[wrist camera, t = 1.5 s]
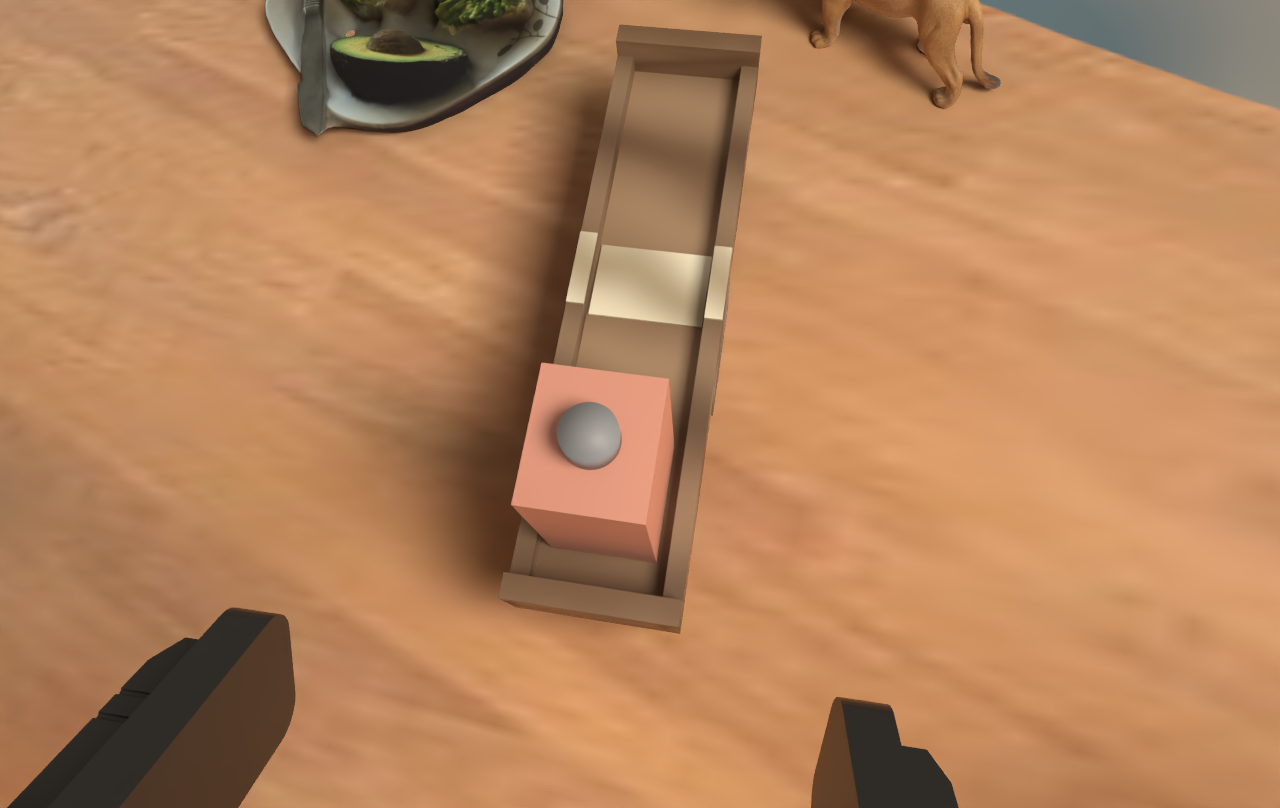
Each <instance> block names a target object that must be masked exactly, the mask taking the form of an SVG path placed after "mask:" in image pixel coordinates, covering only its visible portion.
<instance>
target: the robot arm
mask: <svg viewBox="0 0 1280 808" xmlns="http://www.w3.org/2000/svg"><path fill="white" fill-rule="evenodd" d="M294 705H295V684H294V673H293V663H292V652H291V641H290V631H289V623H288V620H287V618H286V617H285V616H284V615H281V614H274V613H268V612H261V611H254V610H248V609H241V608H230V609H228V610H226V611H225V612H224V613H223V614H222V615H221V616H220V617H219V618H218V619H217V620H216V621H215V622H214V623H213V624H212V626H211V627H210V628H209V629H208V630H207V631H206V632H205V633H204V634H203V636H202V637H201V638H200V639H199V640H197V639H191V638H184V639H182V640H181V641H179V642H177V643H176V644H174V645H172V646H171V647H169V648H167V649H166V650H164V651H162V652H161V653H159V654H157V655H156V656H154V657H152V658H151V659H149V660H148V661H147V662H146V663H145V664H144V665H143V666H142V667H141V668H140V669H139V670H138V671H137V672H136V673H135V674H134V675H133V676H132V677H131V678H130V680H129V681H128V682H127V683H126V684H125V685H124V686H123V687H122V688H121V692H120V694H115V695H114V696H113V697H112V698H111V699H110V700H109V702H108V703H107V704H106V705H105V706H104V707H103V708H102V709H101V710H100V711H99V714H98V717H97V718H92V719H91V720H90V721H89V723H88V724H87V725H86V726H85V727H84V728H83V729H82V730H81V731H80V732H79V733H78V734H77V735H76V736H75V737H74V738H73V739H72V740H71V741H70V742H69V743H68V745H67V746H66V747H65V748H64V749H63V750H62V751H61V752H60V753H59V754H58V755H57V756H56V757H55V758H54V759H53V760H52V761H51V762H50V763H49V764H48V766H47V767H46V768H45V769H44V770H43V771H42V772H41V773H40V774H39V775H38V776H37V777H36V778H35V779H34V780H33V781H32V782H31V783H30V784H29V785H28V786H27V788H26V789H25V790H24V791H23V792H22V793H21V794H20V795H19V796H18V797H17V798H16V799H15V800H14V801H13V802H12V803H11V804H10V805H9V806H8V807H7V808H238V807H239V806H240V804H241V802H242V801H243V799H244V798H245V796H246V795H247V793H248V792H249V790H250V789H251V787H252V786H253V784H254V782H255V781H256V779H257V778H258V776H259V775H260V773H261V772H262V770H263V769H264V767H265V766H266V764H267V762H268V761H269V759H270V758H271V756H272V755H273V753H274V752H275V750H276V749H277V747H278V746H279V744H280V742H281V741H282V739H283V738H284V736H285V734H286V732H287V729H288V727H289V724H290V721H291V718H292V715H293V711H294ZM811 808H958V804H957V801H956V797H955V794H954V791H953V787H952V784H951V782H950V781H949V779H948V778H947V777H946V775H945V774H944V772H943V771H942V770H941V768H940V767H939V766H938V764H937V763H936V762H935V760H934V759H933V757H932V756H931V755H930V753H929V752H928V751H927V750H925V749H919V748H912V747H906V746H901V742H900V737H899V733H898V729H897V725H896V721H895V717H894V713H893V710H892V708H891V706H890V705H888V704H881V703H875V702H868V701H862V700H855V699H848V698H842V697H836V698H835V700H834V701H833V704H832V707H831V711H830V715H829V719H828V723H827V727H826V731H825V735H824V739H823V743H822V746H821V750H820V754H819V758H818V762H817V766H816V770H815V774H814V780H813V788H812V802H811Z"/></svg>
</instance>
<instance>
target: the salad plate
mask: <svg viewBox="0 0 1280 808" xmlns="http://www.w3.org/2000/svg"><path fill="white" fill-rule="evenodd" d="M266 16H267V19H268V21H269V24H270V26H271V29H272V31H273V33H274V35H275V36H276V38H277V40H278V41H279V43H280V45H281V46H282V48H283V49H284V50H285V52H286V53H287V55H288V56H289V58H290V60H291V61H292V62H293V64H294V65H295V66H296V68H297V69H298V71H299V72H300V73H301V75H302V81H301V82H300V83H299V85H298V100H299V111H300V116H301V120H302V124H303V126H304V127H306V128H308V129H309V130H311V131H312V132H313V133H314V134H316V135H317V136H318V135H319V134H321V133H322V132H323V131H325V130H326V129H328V128H332V127H350V128H355V129H362V130H371V131H382V132H393V133H396V132H408V131H413V130H418V129H421V128H425V127H428V126H430V125H433V124H435V123H438V122H440V121H442V120H444V119H446V118H449V117H451V116H454V115H456V114H458V113H461V112H463V111H465V110H466V109H468V108H470V107H471V106H473V105H475V104H477V103H478V102H480V101H482V100H484V99H486V98H488V97H489V96H491V95H493V94H495V93H497V92H499V91H500V90H502V89H504V88H505V87H507V86H509V85H511V84H512V83H514V82H515V81H517V80H518V79H519V78H521V77H522V76H523V75H524V74H526V73H527V72H528V71H529V70H530V69H531V68H532V67H533V66H534V65H535V64H536V63H537V62H538V61H539V60H540V59H542V58H543V57H544V56H545V55H546V54H547V53H548V52H549V51H550V49H551V48H552V46H553V44H554V42H555V39H556V37H557V34H558V32H559V28H560V24H561V20H562V16H563V0H266ZM350 30H354V31H355V35H354V36H352V37H346V36H345V34H346V33H347V32H348V31H350Z"/></svg>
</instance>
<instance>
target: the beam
mask: <svg viewBox="0 0 1280 808" xmlns="http://www.w3.org/2000/svg"><path fill="white" fill-rule="evenodd" d="M761 38H762V36H756V35H744V34H731V33H718V32H706V31H693V30H681V29H668V28H655V27H643V26H630V25H619V29H618V34H617V39H616V44H617V53H618V57H617V62H616V67H615V72H614V77H613V81H612V86H611V91H610V96H609V100H608V105H607V110H606V115H605V120H604V124H603V129H602V134H601V139H600V143H599V148H598V153H597V158H596V163H595V167H594V172H593V177H592V182H591V186H590V191H589V196H588V201H587V205H586V210H585V215H584V220H583V225H582V229H581V231H580V236H579V241H578V245H577V250H576V255H575V260H574V265H573V269H572V274H571V279H570V284H569V288H568V293H567V298H566V306H565V311H564V315H563V320H562V325H561V330H560V334H559V339H558V344H557V349H556V354H555V358H554V363H553V364H556V365H564V366H572V367H580V368H588V369H596V370H604V371H611V372H619V373H627V374H635V375H643V376H651V377H659V378H666V379H669V386H670V398H671V411H672V423H673V435H674V453H673V459H672V466H671V472H670V479H669V485H668V492H667V498H666V505H665V511H664V518H663V525H662V531H661V538H660V544H659V551H658V557H657V563H653V562H646V561H640V560H633V559H627V558H620V557H614V556H607V555H601V554H594V553H588V552H581V551H574V550H568V549H561V548H555V547H551V546H550V545H549V544H548V543H547V542H546V541H545V540H544V539H543V538H542V537H541V536H540V534H539V533H538V532H537V531H536V530H535V529H534V528H533V527H532V526H531V525H530V524H529V523H528V522H527V521H526V520H525V519H524V518H523V517H522V516H521V521H520V525H519V530H518V535H517V540H516V545H515V549H514V554H513V559H512V564H511V568H510V573H507V572H503V577H502V582H501V586H500V591H499V596H498V598H499V599H501V600H503V601H505V602H507V603H509V604H511V605H513V606H515V607H519V608H525V609H531V610H537V611H543V612H549V613H556V614H562V615H568V616H574V617H580V618H587V619H593V620H599V621H605V622H611V623H617V624H624V625H630V626H636V627H642V628H648V629H654V630H661V631H667V632H673V633H679V634H680V631H681V623H682V616H683V609H684V602H685V595H686V588H687V581H688V573H689V566H690V559H691V552H692V545H693V538H694V531H695V523H696V516H697V509H698V502H699V495H700V488H701V480H702V473H703V466H704V459H705V452H706V445H707V438H708V430H709V423H710V416H711V415H713V410H714V403H715V395H716V388H717V381H718V374H719V367H720V359H721V352H722V345H723V338H724V331H725V323H726V316H727V309H728V297H729V286H730V274H731V266H732V259H733V252H734V244H735V237H736V230H737V223H738V216H739V209H740V202H741V194H742V187H743V180H744V173H745V166H746V159H747V152H748V144H749V137H750V130H751V123H752V116H753V109H754V101H755V94H756V87H757V78H758V68H759V58H760V48H761Z"/></svg>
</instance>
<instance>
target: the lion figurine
mask: <svg viewBox="0 0 1280 808" xmlns="http://www.w3.org/2000/svg"><path fill="white" fill-rule="evenodd" d="M852 1H853V0H822V14H823V20H824V25H825V26H824V28H819V29H817V30H816V31H814V32H813V33H812V35H811V36H812V40H811V41H812V43H813V44H814V46H815V47H816V48H824V47H827V46H830V45H831V44H832V43H833V42H834V41H835V39H836V38H837V37H838V36H839V33H840V21H841V18H842V16H843V14H844V12H845V11H846V10H847V9H848V8H849V7H850V6H851V3H852ZM855 1H857V2H858V3H860V4H861V5H863V6H865V7H867V8H868V9H870V10H872V11H874V12H876V13H879V14H882V15H886V16H889V17H895V18H904V17H914V18H915V19H916V21H917V24H918V32H919V39H920V40H919V41H918V44H917V46H918V48H919V50H920V51H922V52H923V53H924V54H925V56H926V58H927V59H928V61H929V62H930V64H931V66H932V67H933V68H934V69H935V71H936V72H937V73H938V75H939V76H940V77H941V79H942V80H943V82H944V84H945V85H946V87H941V88H937V89H936V90H934V93H933V94H934V97H933V100H934V103H935V104H936V105H937V106H939V107H942V108H947V107H950V106H951V105H953V104H954V103H955V102H956V100H957V99H958V98H959V96H960V93H961V89H962V82H963V73H962V71H961V70H960V69H959V67H958V65H957V62H956V58H955V42H956V38H957V36H958V33H959V31H960V28H961V25H962V23H965V24H970V28H971V63H972V70H973V73H974V75H975V77H976V78H977V79H978V81H979V83H981V84H982V85H983V86H984V87H985V88H994V89H995V88H998V87H999V86H1000V84H1001V82H1000V79H999V78H997V77H995V76H993V75H990V74H988V73H987V72H985V71H983V69H982V66H981V60H982V45H983V16H982V9H981V5H980V2H979V0H855Z"/></svg>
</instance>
